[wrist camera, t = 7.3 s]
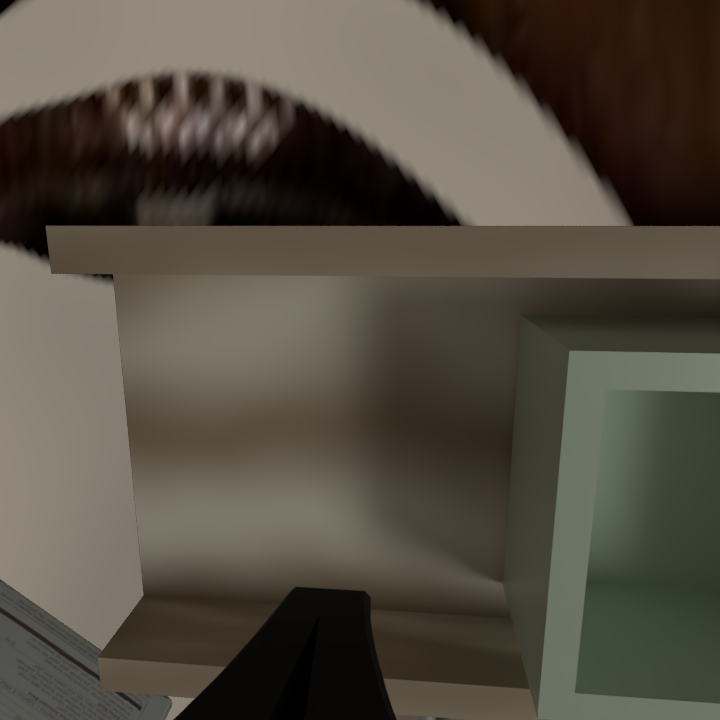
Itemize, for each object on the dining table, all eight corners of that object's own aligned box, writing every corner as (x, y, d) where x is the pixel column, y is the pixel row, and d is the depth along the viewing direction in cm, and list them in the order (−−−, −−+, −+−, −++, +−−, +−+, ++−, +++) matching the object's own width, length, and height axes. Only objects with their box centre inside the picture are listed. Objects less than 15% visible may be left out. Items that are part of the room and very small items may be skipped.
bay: (773, 645, 19) (866, 751, 15) (158, 606, 21) (101, 690, 17) (854, 228, 16) (996, 226, 12) (124, 227, 18) (45, 225, 14)
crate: (759, 600, 18) (899, 746, 13) (502, 584, 18) (537, 718, 13) (810, 319, 16) (1001, 359, 11) (520, 314, 16) (569, 350, 11)
